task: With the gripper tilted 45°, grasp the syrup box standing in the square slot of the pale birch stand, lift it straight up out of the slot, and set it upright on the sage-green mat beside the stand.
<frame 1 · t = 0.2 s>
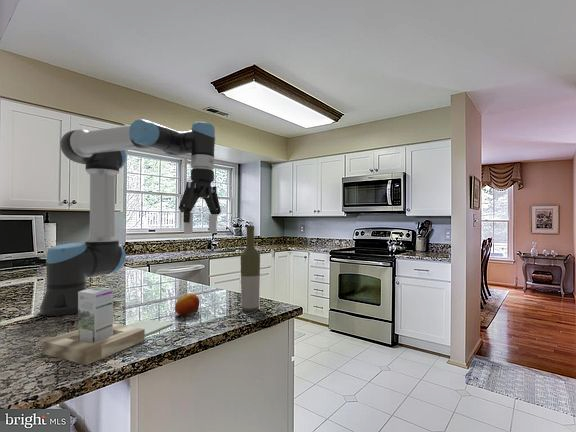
hand: (201, 233, 109), 28 cm above the counter, tool pointing down, fingers open, 13 cm apart
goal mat: (144, 328, 97), on the counter
fruit: (187, 314, 112), on the counter
syrup box: (95, 347, 83), resting in slotted stand
slotted stand: (95, 346, 83), on the counter
bottle: (250, 310, 117), on the counter
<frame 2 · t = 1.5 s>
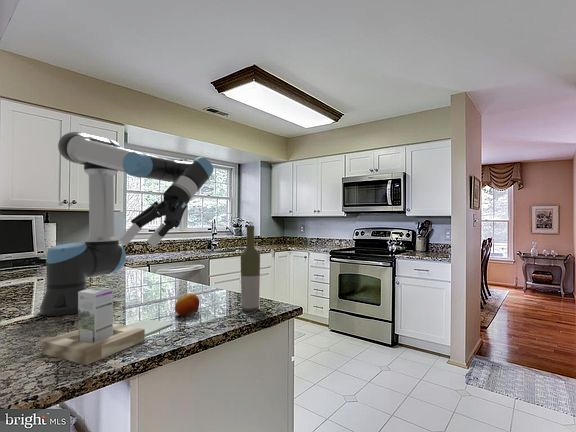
hand: (136, 243, 92), 26 cm above the counter, tool tilted 45°, fingers open, 13 cm apart
nothing on the counter moved.
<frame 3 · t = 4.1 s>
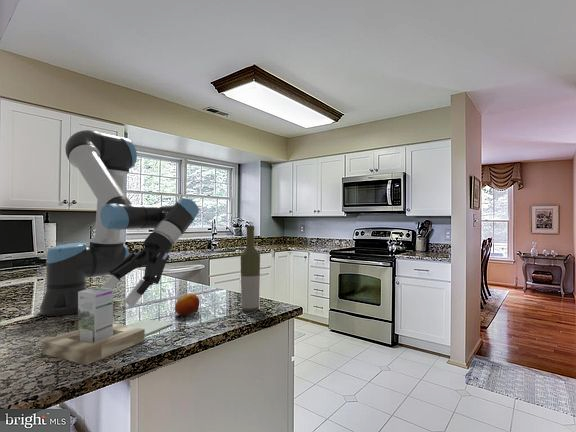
hand: (113, 300, 85), 11 cm above the counter, tool tilted 45°, fingers open, 13 cm apart
nothing on the counter moved.
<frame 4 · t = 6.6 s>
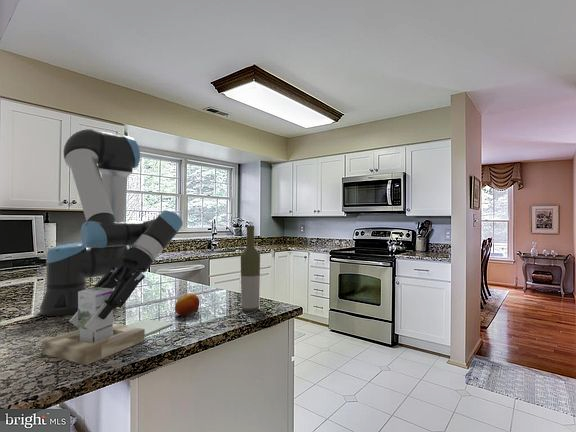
hand: (81, 326, 80), 6 cm above the counter, tool tilted 45°, fingers closed on syrup box, 7 cm apart
syrup box: (95, 347, 83), resting in slotted stand, touching gripper
everything else where it was.
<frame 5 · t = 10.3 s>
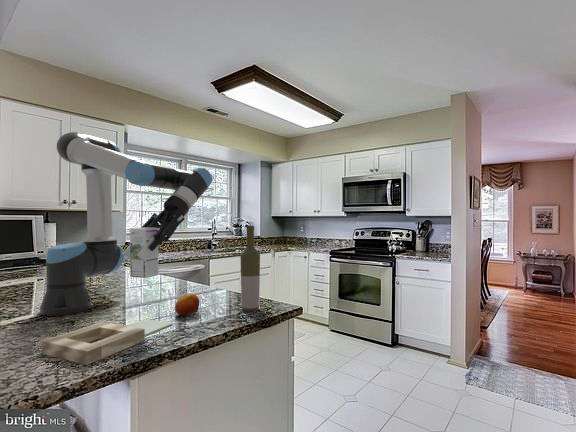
hand: (133, 257, 94), 21 cm above the counter, tool tilted 45°, fingers closed on syrup box, 7 cm apart
syrup box: (144, 276, 97), point 15 cm above the counter, touching gripper
everything else where it was.
when the fingers open (7 cm above the counter, at t = 14.4 s): syrup box stays where it is, resting on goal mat.
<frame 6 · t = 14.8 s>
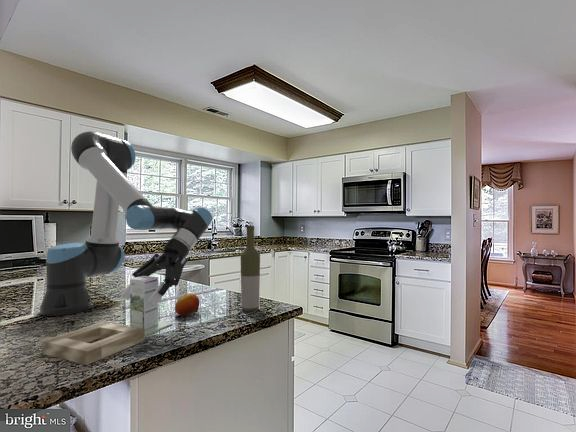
hand: (137, 300, 95), 9 cm above the counter, tool tilted 45°, fingers open, 13 cm apart
syrup box: (144, 326, 97), resting on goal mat
everything else where it was.
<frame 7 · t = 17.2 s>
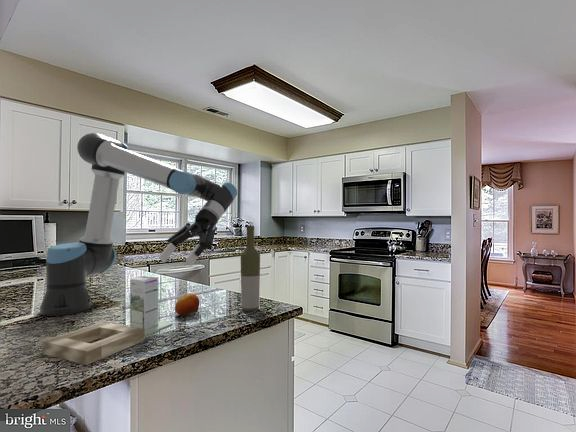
hand: (174, 261, 106), 19 cm above the counter, tool tilted 45°, fingers open, 13 cm apart
nothing on the counter moved.
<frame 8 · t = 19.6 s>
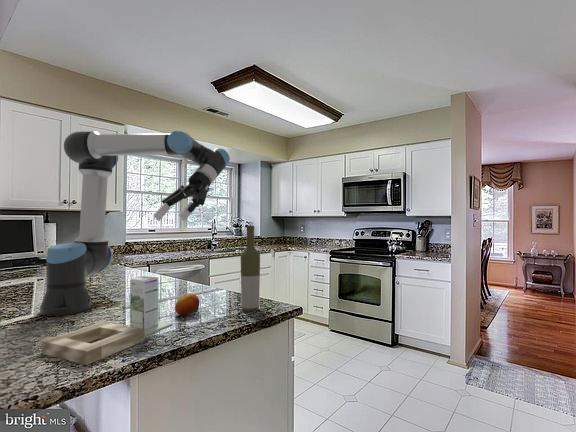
hand: (168, 218, 111), 33 cm above the counter, tool tilted 45°, fingers open, 13 cm apart
nothing on the counter moved.
at the end: syrup box inside the target area (0.1 cm from its centre), resting on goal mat; syrup box tilted 0°; the gripper is holding nothing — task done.
